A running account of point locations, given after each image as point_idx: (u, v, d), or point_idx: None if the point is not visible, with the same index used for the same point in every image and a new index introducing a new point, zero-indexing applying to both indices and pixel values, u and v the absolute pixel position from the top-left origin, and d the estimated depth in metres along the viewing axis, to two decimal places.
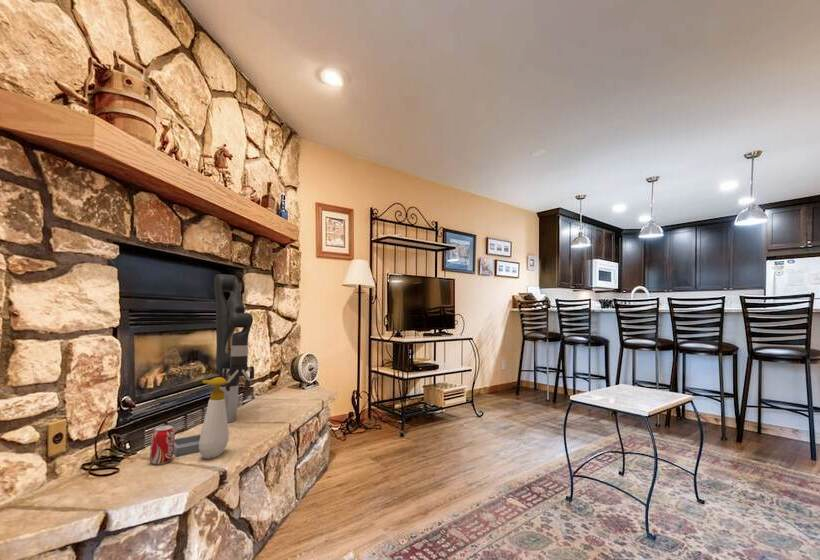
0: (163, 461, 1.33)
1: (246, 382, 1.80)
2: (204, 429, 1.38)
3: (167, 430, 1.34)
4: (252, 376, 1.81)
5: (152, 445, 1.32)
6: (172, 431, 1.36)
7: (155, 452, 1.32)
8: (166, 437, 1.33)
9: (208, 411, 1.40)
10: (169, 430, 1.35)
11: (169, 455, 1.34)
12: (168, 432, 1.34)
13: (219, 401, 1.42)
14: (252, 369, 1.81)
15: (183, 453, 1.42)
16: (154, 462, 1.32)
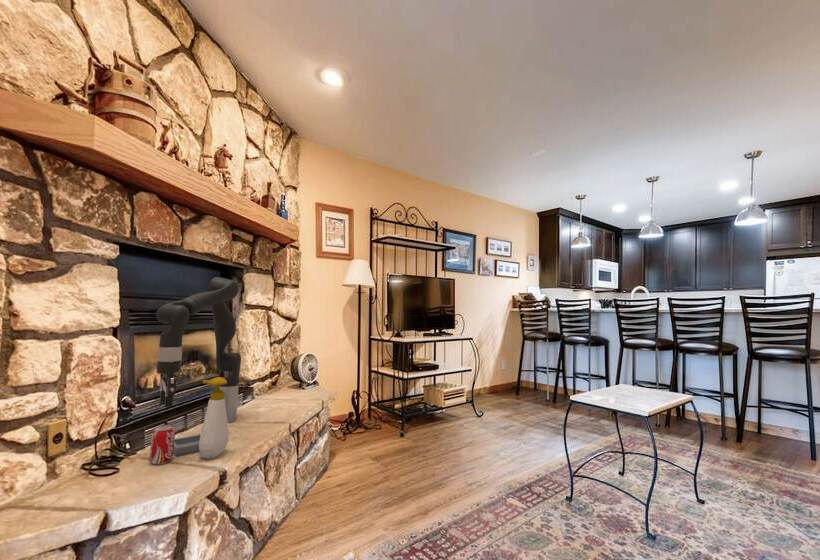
0: (163, 461, 1.33)
1: (164, 394, 1.40)
2: (204, 429, 1.38)
3: (167, 430, 1.34)
4: None
5: (152, 445, 1.32)
6: (172, 431, 1.36)
7: (155, 452, 1.32)
8: (166, 437, 1.33)
9: (208, 411, 1.40)
10: (169, 430, 1.35)
11: (169, 455, 1.34)
12: (168, 432, 1.34)
13: (219, 401, 1.42)
14: None
15: (183, 453, 1.42)
16: (154, 462, 1.32)
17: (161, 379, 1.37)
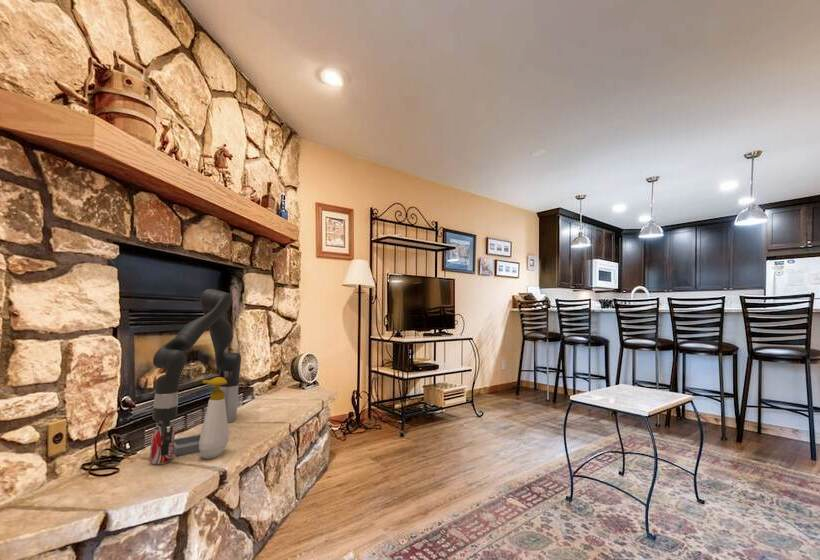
0: (163, 461, 1.33)
1: None
2: (204, 429, 1.38)
3: None
4: None
5: (152, 445, 1.32)
6: (172, 431, 1.36)
7: (155, 452, 1.32)
8: (166, 437, 1.33)
9: (208, 411, 1.40)
10: None
11: (169, 455, 1.34)
12: None
13: (219, 401, 1.42)
14: None
15: (183, 453, 1.42)
16: (154, 462, 1.32)
17: (157, 425, 1.35)
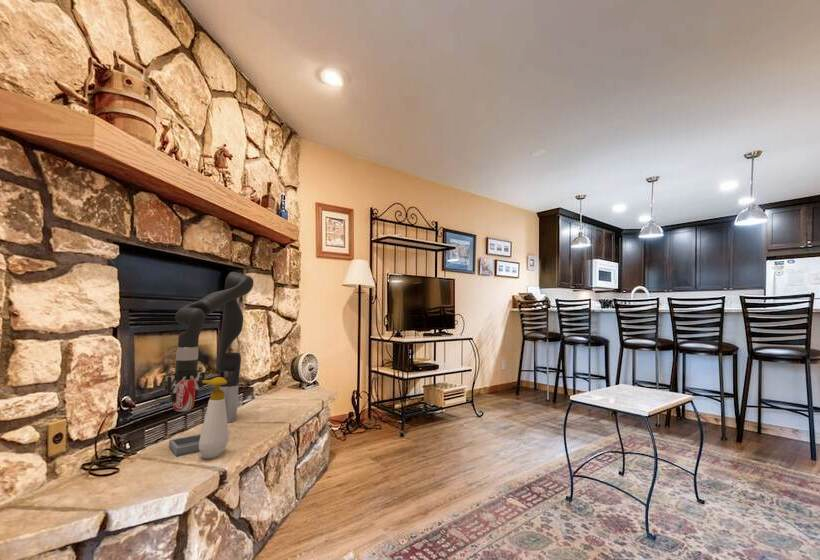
0: (174, 408, 1.45)
1: None
2: (204, 429, 1.38)
3: None
4: (201, 384, 1.52)
5: None
6: (182, 383, 1.45)
7: None
8: None
9: (208, 411, 1.40)
10: None
11: (177, 405, 1.44)
12: None
13: (219, 401, 1.42)
14: (202, 375, 1.52)
15: (183, 453, 1.42)
16: None
17: None
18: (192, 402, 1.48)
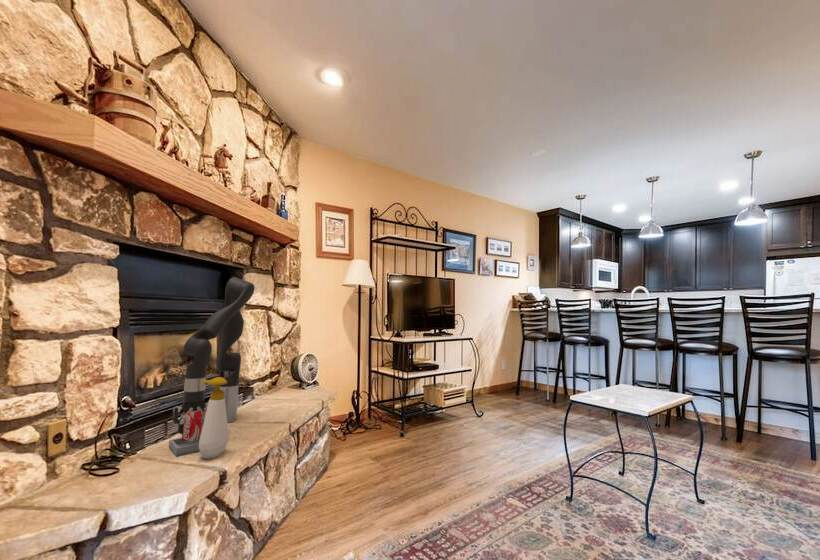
0: (182, 439, 1.46)
1: None
2: (204, 429, 1.38)
3: None
4: None
5: None
6: (189, 414, 1.46)
7: None
8: None
9: (208, 411, 1.40)
10: None
11: (184, 436, 1.45)
12: None
13: (219, 401, 1.42)
14: None
15: (183, 453, 1.42)
16: None
17: None
18: (199, 433, 1.48)
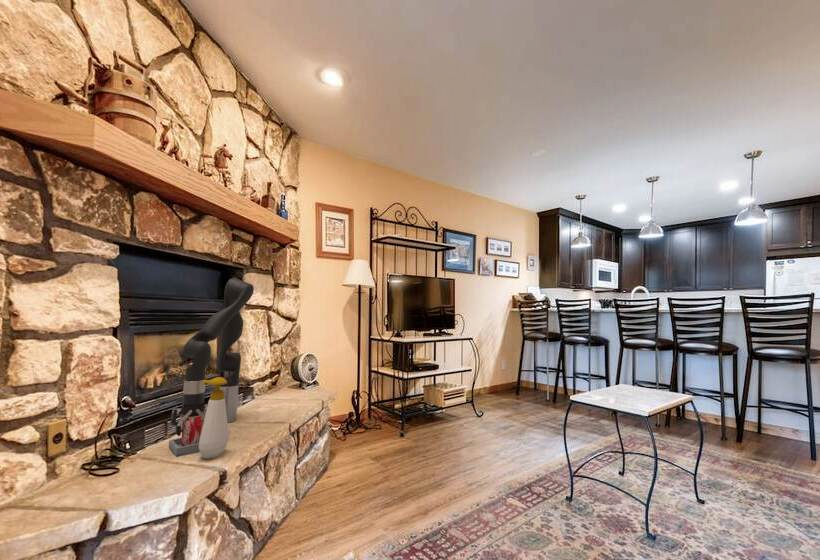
0: None
1: None
2: (204, 429, 1.38)
3: None
4: None
5: None
6: (188, 420, 1.47)
7: None
8: (183, 423, 1.47)
9: (208, 411, 1.40)
10: (187, 418, 1.47)
11: (184, 442, 1.46)
12: None
13: (219, 401, 1.42)
14: None
15: (183, 453, 1.42)
16: None
17: None
18: (199, 438, 1.48)
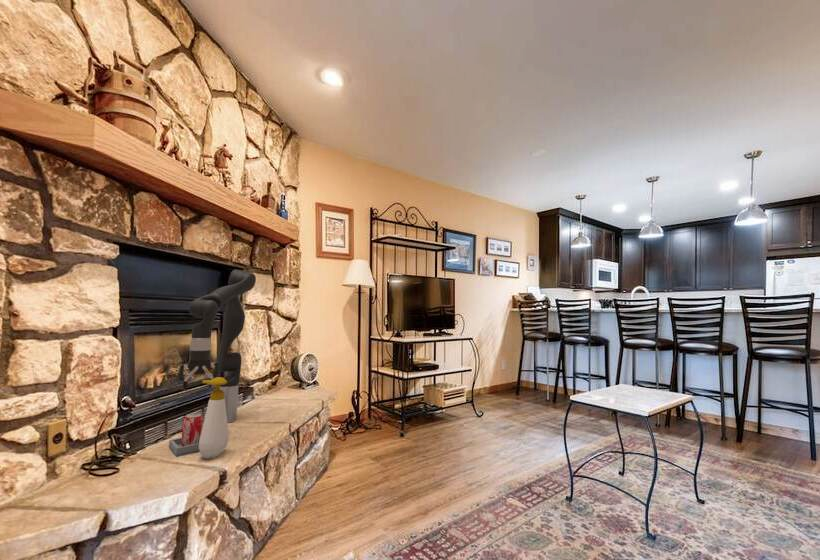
0: None
1: None
2: (204, 429, 1.38)
3: (186, 417, 1.47)
4: (216, 374, 1.56)
5: None
6: (188, 420, 1.47)
7: None
8: (183, 423, 1.47)
9: (208, 411, 1.40)
10: (187, 418, 1.47)
11: (184, 442, 1.46)
12: (185, 419, 1.47)
13: (219, 401, 1.42)
14: (216, 366, 1.56)
15: (183, 453, 1.42)
16: None
17: None
18: (199, 438, 1.48)
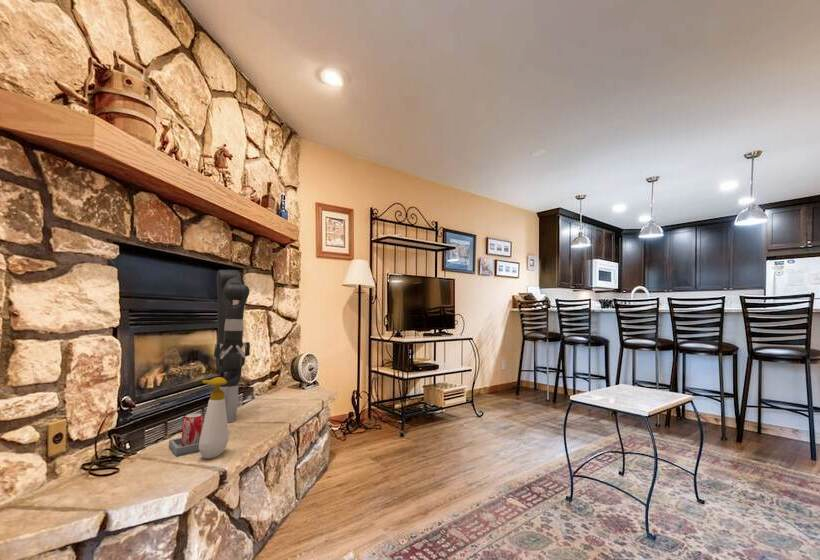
0: None
1: (241, 359, 1.67)
2: (204, 429, 1.38)
3: (186, 417, 1.47)
4: (247, 353, 1.68)
5: None
6: (188, 420, 1.47)
7: None
8: (183, 423, 1.47)
9: (208, 411, 1.40)
10: (187, 418, 1.47)
11: (184, 442, 1.46)
12: (185, 419, 1.47)
13: (219, 401, 1.42)
14: (248, 345, 1.68)
15: (183, 453, 1.42)
16: None
17: None
18: (199, 438, 1.48)
